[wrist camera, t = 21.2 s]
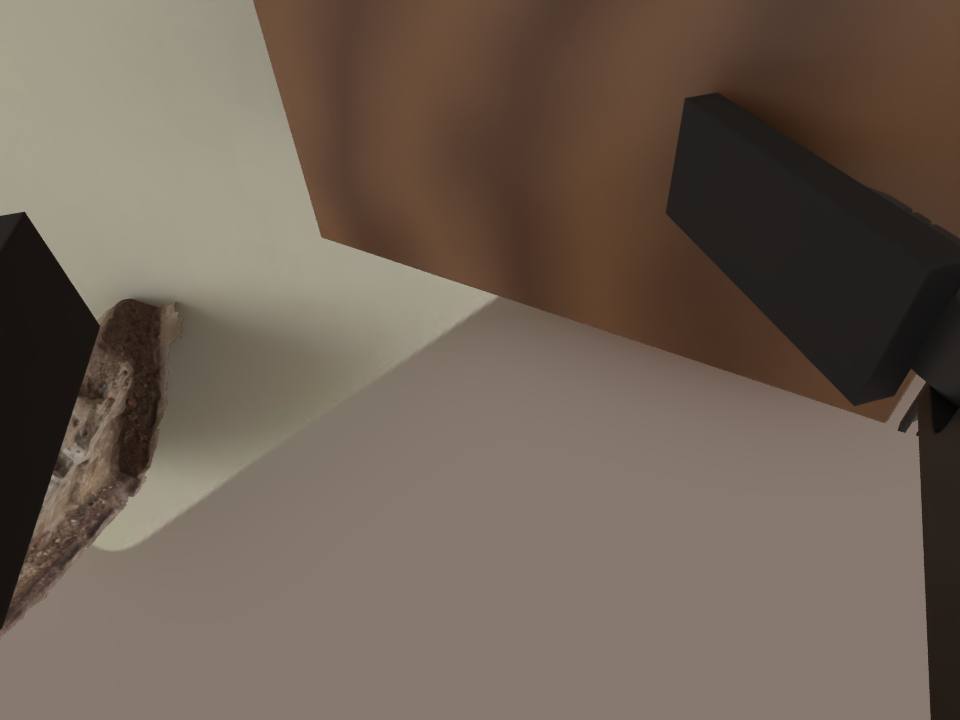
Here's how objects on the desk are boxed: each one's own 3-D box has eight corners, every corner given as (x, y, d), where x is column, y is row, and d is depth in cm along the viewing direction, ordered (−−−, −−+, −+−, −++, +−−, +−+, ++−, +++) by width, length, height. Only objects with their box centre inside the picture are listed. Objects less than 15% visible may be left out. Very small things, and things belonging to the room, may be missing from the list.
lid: (1337, -332, 7) (1360, -338, 7) (889, 405, 16) (886, 424, 16) (216, -206, 16) (192, -205, 16) (333, 228, 25) (320, 238, 25)
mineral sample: (47, 454, 41) (-34, 687, 30) (-21, 431, 38) (-138, 678, 27) (197, 297, 36) (164, 508, 25) (129, 259, 33) (60, 475, 22)
